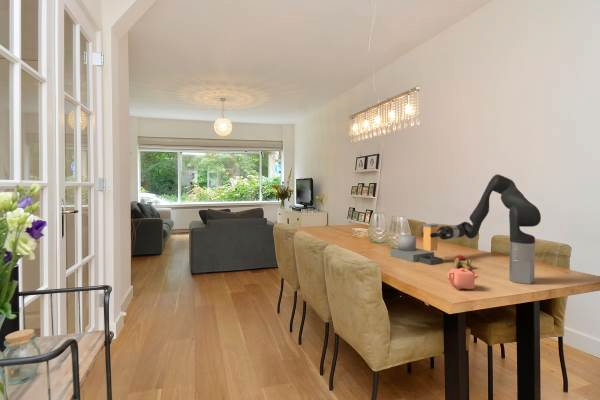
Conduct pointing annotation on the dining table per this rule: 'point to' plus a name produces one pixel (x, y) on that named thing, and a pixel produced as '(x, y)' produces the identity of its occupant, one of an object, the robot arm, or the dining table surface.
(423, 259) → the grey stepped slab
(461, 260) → the red flower
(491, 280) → the dining table surface
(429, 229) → the orange tall block
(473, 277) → the pink cube teapot
